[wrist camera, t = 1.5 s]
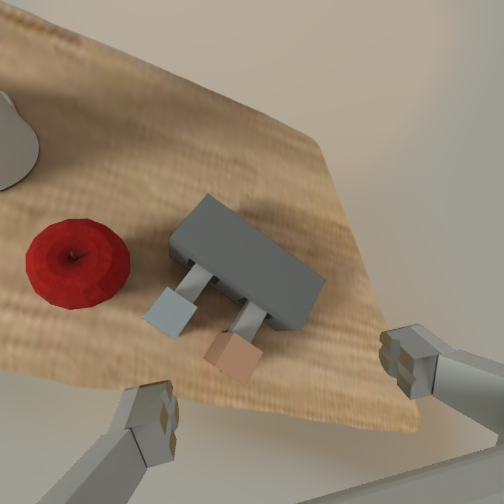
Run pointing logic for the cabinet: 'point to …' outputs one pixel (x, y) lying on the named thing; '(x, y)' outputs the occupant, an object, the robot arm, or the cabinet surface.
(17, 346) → the cabinet surface
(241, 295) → the socket block
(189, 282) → the slate plug
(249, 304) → the terracotta plug
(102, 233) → the apple
